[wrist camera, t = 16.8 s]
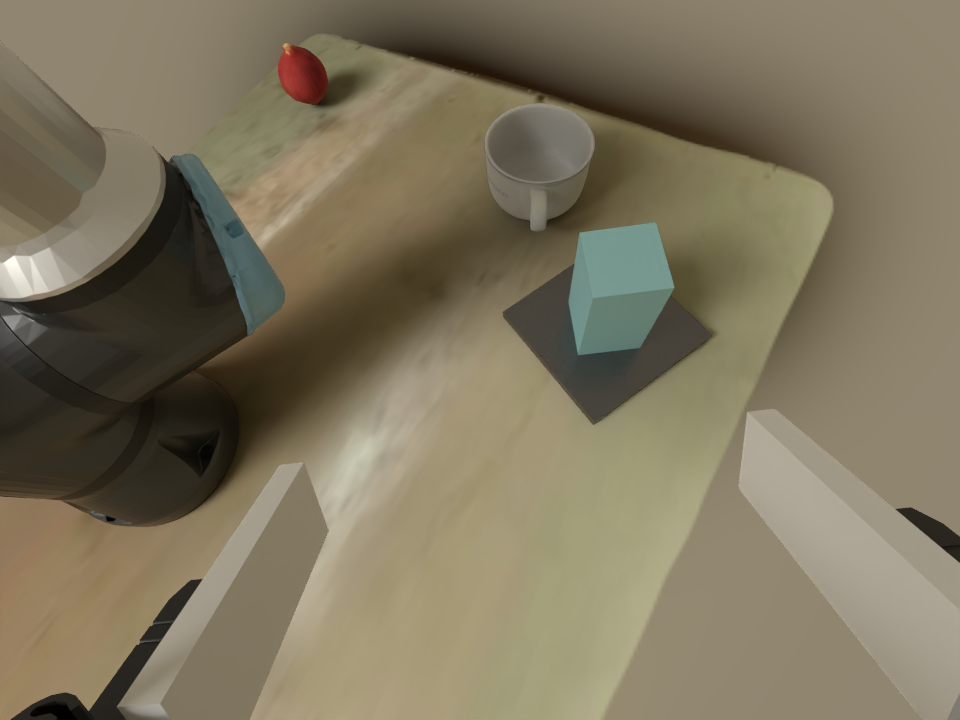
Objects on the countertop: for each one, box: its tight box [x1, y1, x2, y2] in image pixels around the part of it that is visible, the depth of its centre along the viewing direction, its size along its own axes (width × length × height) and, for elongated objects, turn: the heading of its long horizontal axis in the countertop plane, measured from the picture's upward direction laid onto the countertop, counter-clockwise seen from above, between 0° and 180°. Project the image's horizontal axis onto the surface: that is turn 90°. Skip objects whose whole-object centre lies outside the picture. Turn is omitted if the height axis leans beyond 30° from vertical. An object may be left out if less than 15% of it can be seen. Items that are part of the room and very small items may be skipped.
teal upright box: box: [568, 222, 675, 355], centre depth 38 cm, size 6×6×11 cm
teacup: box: [484, 103, 595, 232], centre depth 47 cm, size 14×11×8 cm
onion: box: [278, 43, 328, 105], centre depth 57 cm, size 6×6×8 cm
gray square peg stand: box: [503, 264, 712, 425], centre depth 40 cm, size 14×14×9 cm
